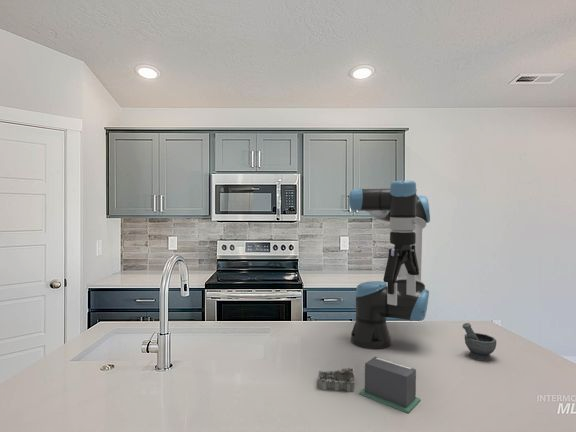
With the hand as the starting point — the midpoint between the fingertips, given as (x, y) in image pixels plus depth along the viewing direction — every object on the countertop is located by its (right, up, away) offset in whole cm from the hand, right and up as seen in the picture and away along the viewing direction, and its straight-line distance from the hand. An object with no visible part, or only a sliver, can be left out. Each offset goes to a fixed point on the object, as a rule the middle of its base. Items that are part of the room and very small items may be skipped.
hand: (401, 299), depth 108 cm
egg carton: (-21, -24, -6) cm, 33 cm away
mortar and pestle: (+32, -24, +15) cm, 43 cm away
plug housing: (-8, -23, -13) cm, 27 cm away
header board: (-8, -24, -13) cm, 28 cm away
